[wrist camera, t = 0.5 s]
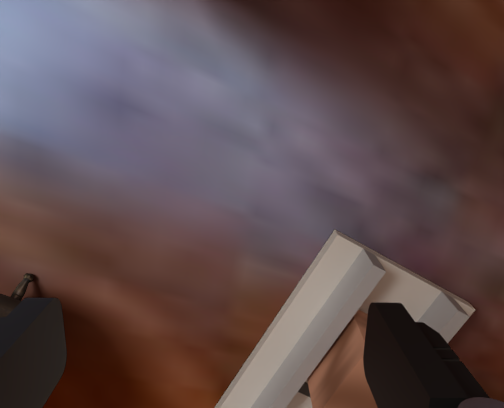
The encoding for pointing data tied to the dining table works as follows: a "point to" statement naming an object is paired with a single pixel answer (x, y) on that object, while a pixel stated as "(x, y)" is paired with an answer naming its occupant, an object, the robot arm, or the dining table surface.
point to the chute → (333, 320)
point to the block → (343, 371)
